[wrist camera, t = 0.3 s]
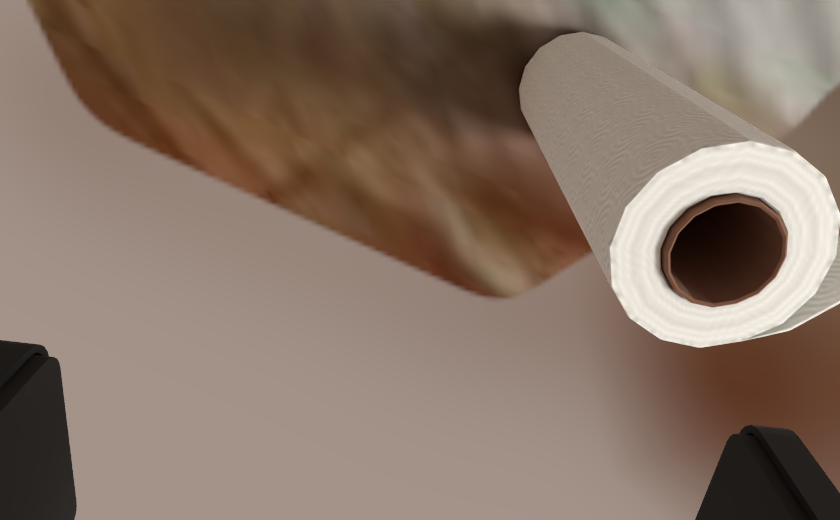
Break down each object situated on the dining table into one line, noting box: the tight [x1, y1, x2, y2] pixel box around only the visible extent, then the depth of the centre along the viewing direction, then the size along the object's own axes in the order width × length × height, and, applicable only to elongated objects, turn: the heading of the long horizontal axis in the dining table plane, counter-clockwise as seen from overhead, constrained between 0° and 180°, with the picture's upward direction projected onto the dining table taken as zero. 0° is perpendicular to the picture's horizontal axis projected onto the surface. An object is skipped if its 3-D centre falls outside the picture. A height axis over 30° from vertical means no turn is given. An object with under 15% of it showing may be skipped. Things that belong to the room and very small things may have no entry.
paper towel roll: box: [519, 32, 840, 348], centre depth 28 cm, size 7×6×21 cm
